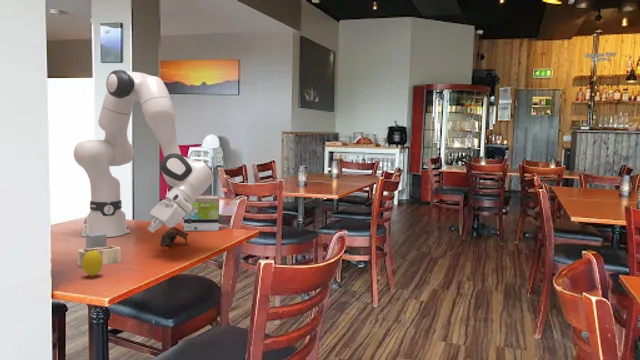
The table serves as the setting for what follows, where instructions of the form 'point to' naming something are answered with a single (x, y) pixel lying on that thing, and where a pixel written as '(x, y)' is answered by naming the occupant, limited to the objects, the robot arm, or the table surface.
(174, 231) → the dark brown arched figure
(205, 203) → the tea box
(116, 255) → the birch block
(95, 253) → the lemon
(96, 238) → the grey block
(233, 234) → the table surface
